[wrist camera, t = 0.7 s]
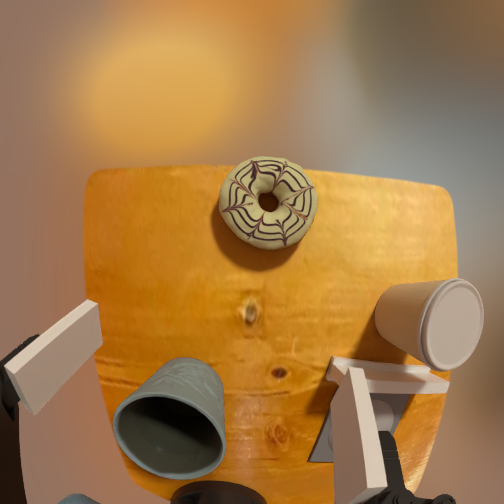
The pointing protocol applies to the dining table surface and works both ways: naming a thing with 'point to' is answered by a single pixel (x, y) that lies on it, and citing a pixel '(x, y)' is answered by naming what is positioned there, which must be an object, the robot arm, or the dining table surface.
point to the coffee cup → (432, 321)
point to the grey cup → (175, 421)
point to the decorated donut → (278, 185)
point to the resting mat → (386, 419)
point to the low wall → (389, 376)
